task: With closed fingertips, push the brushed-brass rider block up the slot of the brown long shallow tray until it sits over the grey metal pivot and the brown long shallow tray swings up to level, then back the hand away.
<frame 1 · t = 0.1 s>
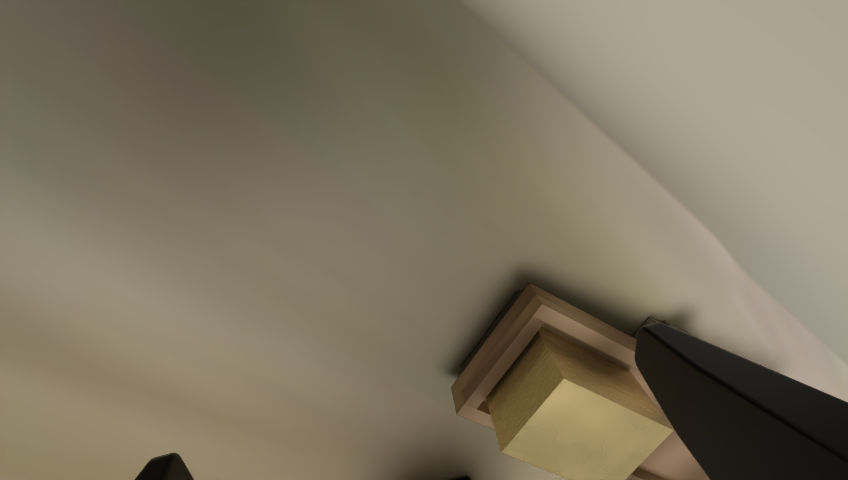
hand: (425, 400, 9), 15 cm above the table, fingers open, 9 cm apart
brown long shallow tray: (662, 428, 30), point 4 cm above the table, hinge at 9.5°, touching pivot stand, rider
pivot stand: (625, 381, 34), on the table
rider: (557, 380, 28), point 3 cm above the table, tilted 10°, touching brown long shallow tray
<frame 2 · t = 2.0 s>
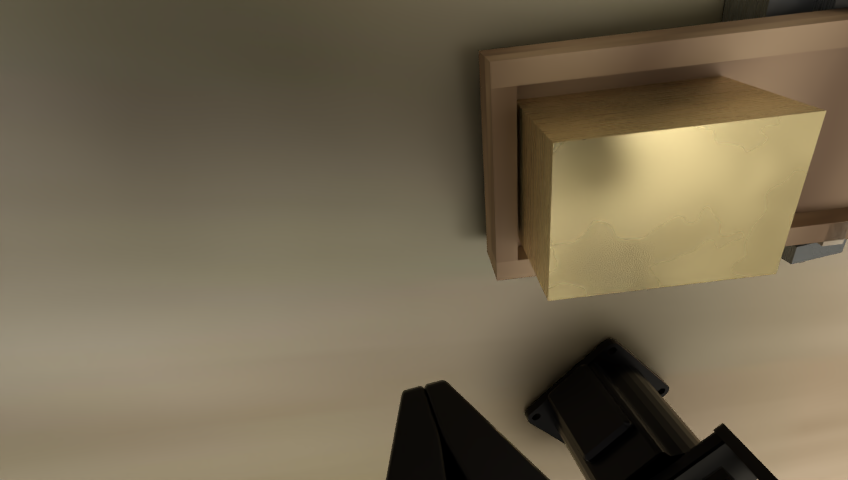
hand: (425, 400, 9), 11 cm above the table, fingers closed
brown long shallow tray: (844, 130, 18), point 4 cm above the table, hinge at 9.5°, touching pivot stand, rider
pivot stand: (755, 104, 21), on the table
rider: (611, 158, 18), point 3 cm above the table, tilted 9°, touching brown long shallow tray
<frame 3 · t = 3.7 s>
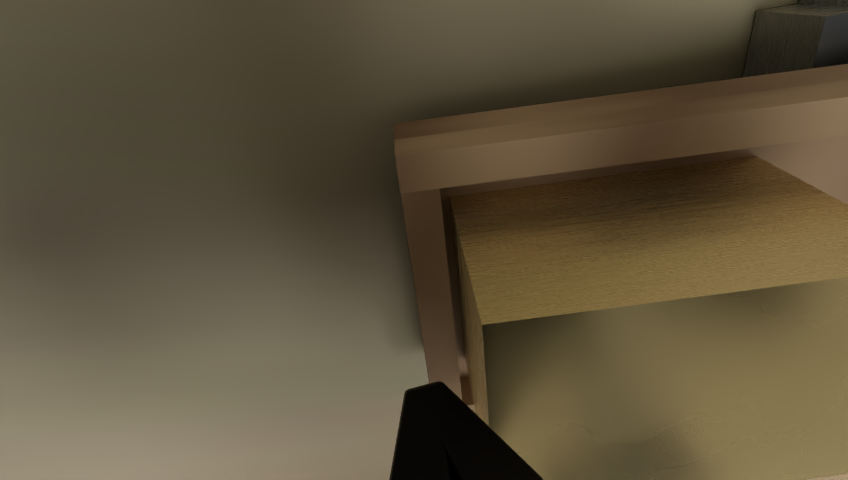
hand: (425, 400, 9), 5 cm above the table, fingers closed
pivot stand: (788, 167, 16), on the table
rider: (595, 267, 12), point 3 cm above the table, tilted 9°, touching brown long shallow tray, gripper
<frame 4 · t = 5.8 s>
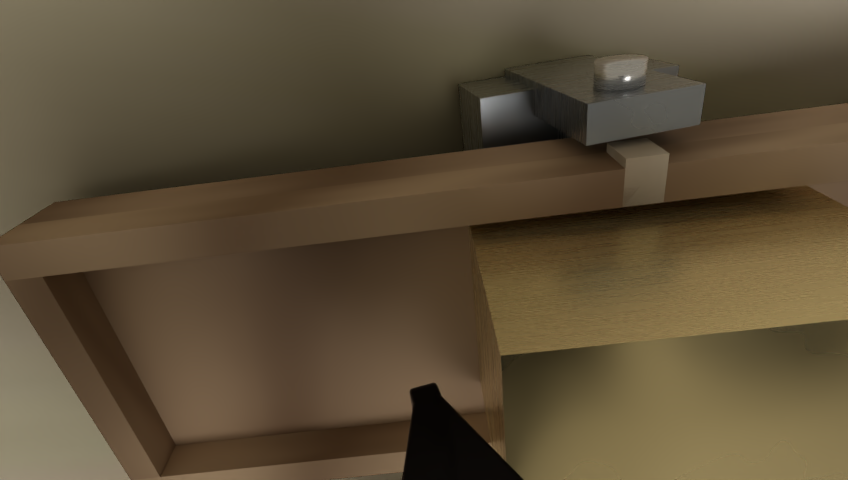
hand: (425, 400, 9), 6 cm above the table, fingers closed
brown long shallow tray: (612, 303, 12), point 4 cm above the table, hinge at 9.5°, touching pivot stand, rider
pivot stand: (547, 231, 16), on the table
rider: (619, 291, 12), point 4 cm above the table, tilted 10°, touching brown long shallow tray, gripper
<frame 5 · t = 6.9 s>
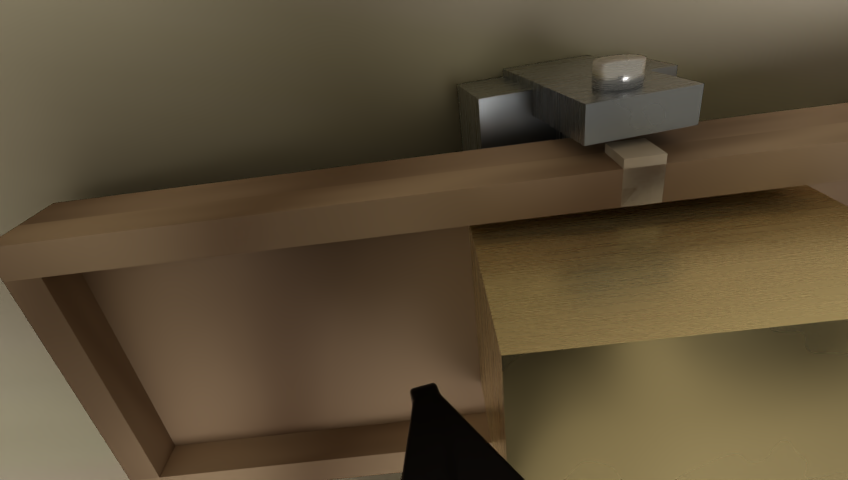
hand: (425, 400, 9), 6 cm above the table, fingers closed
brown long shallow tray: (610, 303, 12), point 4 cm above the table, hinge at 9.5°, touching pivot stand, rider
pivot stand: (546, 231, 16), on the table
rider: (619, 291, 12), point 4 cm above the table, tilted 10°, touching brown long shallow tray, gripper
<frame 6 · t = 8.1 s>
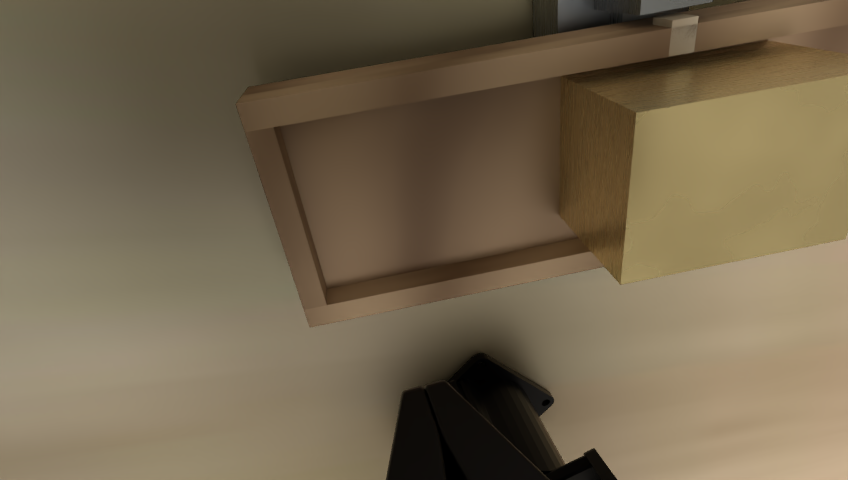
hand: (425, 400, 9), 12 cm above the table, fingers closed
brown long shallow tray: (650, 144, 17), point 4 cm above the table, hinge at 4.4°, touching rider
pivot stand: (590, 115, 21), on the table
rider: (657, 133, 17), point 4 cm above the table, touching brown long shallow tray
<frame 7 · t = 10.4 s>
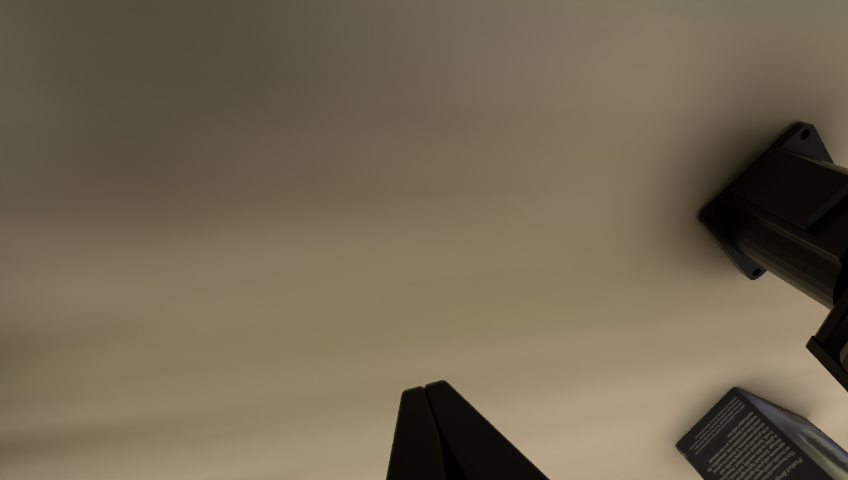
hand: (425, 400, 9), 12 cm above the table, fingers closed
small box: (742, 428, 36), on the table
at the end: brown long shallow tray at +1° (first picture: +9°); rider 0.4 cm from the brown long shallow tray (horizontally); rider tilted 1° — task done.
